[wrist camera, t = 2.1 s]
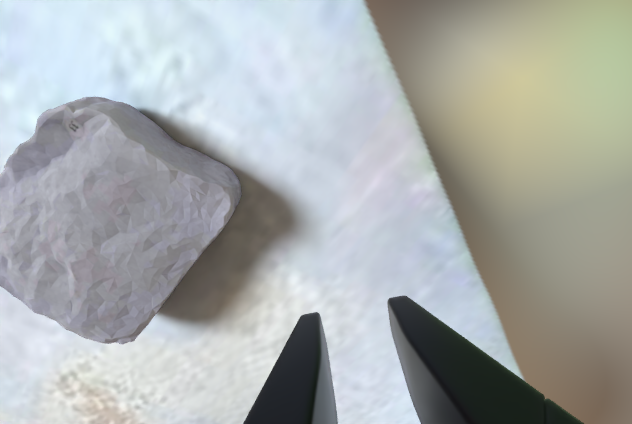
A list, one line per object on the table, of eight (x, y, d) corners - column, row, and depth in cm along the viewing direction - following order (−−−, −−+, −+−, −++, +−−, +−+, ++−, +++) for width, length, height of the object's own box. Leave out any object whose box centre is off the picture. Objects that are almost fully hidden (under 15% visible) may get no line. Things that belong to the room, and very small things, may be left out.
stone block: (23, 230, 22) (155, 325, 23) (-65, 260, 17) (106, 377, 18) (115, 69, 19) (262, 186, 20) (40, 52, 14) (237, 205, 15)
